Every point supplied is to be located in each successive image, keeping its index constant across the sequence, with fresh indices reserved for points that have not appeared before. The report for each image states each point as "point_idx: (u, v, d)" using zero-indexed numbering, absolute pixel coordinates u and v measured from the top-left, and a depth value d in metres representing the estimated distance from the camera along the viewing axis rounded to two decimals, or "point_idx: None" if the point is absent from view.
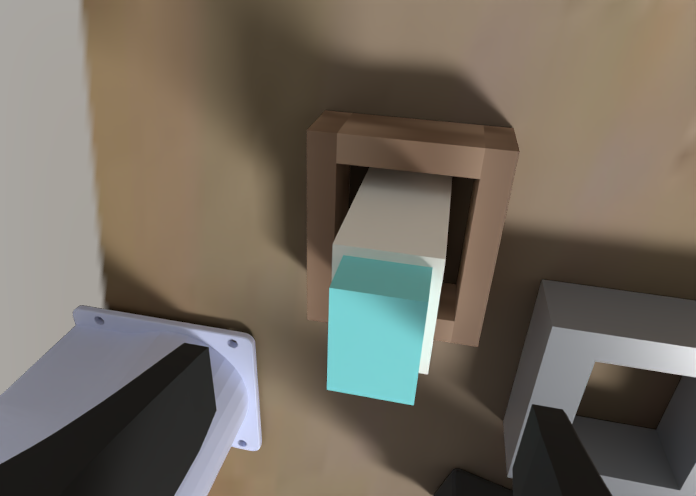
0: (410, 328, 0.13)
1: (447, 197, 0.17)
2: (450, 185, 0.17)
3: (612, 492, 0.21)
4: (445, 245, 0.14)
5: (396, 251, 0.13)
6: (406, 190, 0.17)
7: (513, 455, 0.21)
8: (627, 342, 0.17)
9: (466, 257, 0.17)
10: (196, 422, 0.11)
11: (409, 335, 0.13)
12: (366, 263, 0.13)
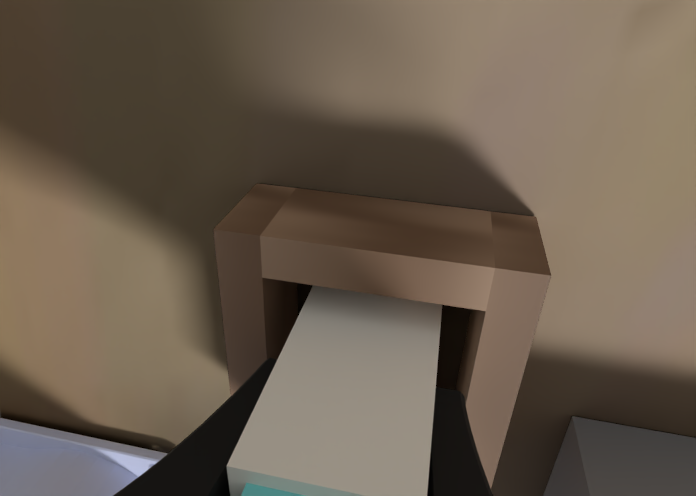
0: None
1: (435, 331, 0.11)
2: None
3: None
4: (427, 464, 0.08)
5: (337, 486, 0.07)
6: (372, 316, 0.11)
7: None
8: None
9: None
10: None
11: None
12: None
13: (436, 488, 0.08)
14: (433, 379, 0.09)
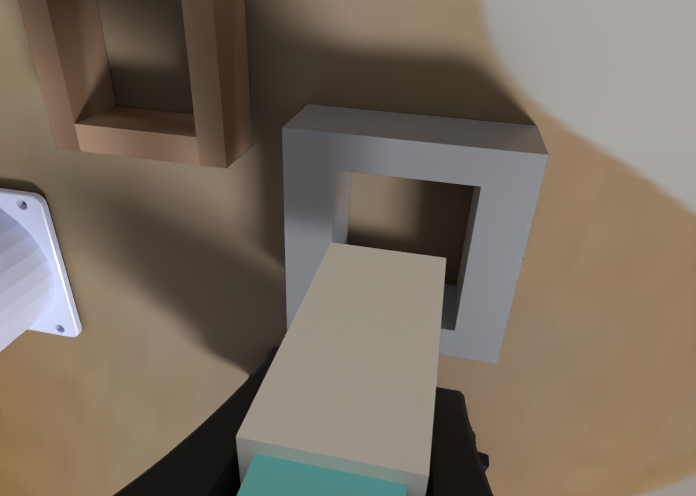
0: None
1: (437, 313, 0.11)
2: (442, 287, 0.12)
3: None
4: (429, 435, 0.08)
5: (344, 455, 0.08)
6: (375, 299, 0.11)
7: (287, 301, 0.19)
8: (359, 141, 0.16)
9: (188, 52, 0.16)
10: None
11: None
12: (291, 476, 0.08)
13: (436, 488, 0.08)
14: (435, 357, 0.10)
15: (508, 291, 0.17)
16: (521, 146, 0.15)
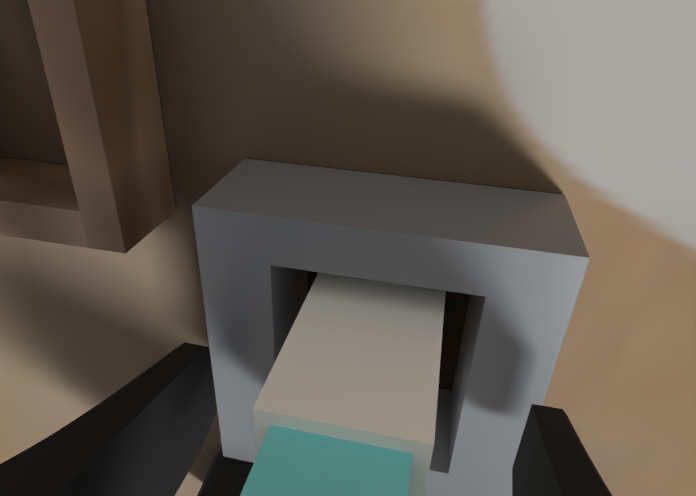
0: None
1: (441, 299, 0.11)
2: None
3: None
4: (434, 409, 0.09)
5: (354, 426, 0.08)
6: (381, 285, 0.12)
7: (220, 423, 0.14)
8: (304, 228, 0.11)
9: (54, 95, 0.11)
10: (196, 422, 0.11)
11: None
12: (305, 444, 0.08)
13: None
14: (439, 339, 0.10)
15: None
16: (546, 239, 0.10)
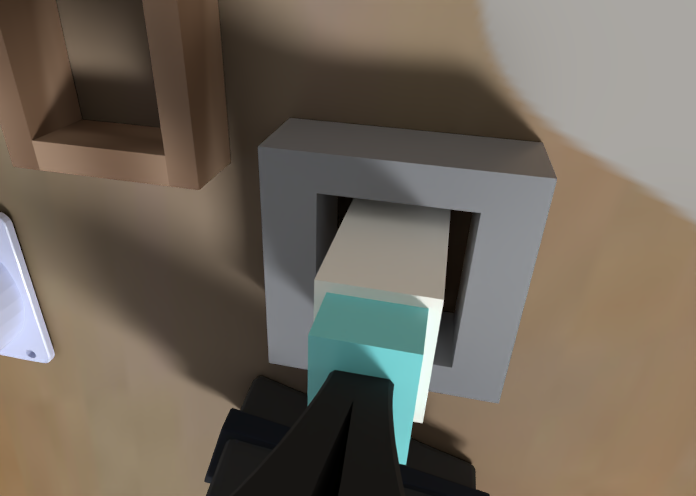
0: (402, 382, 0.11)
1: (446, 220, 0.15)
2: None
3: None
4: (443, 281, 0.12)
5: (387, 290, 0.12)
6: (400, 212, 0.15)
7: (268, 333, 0.18)
8: (344, 162, 0.14)
9: (153, 62, 0.14)
10: None
11: (401, 390, 0.11)
12: (352, 303, 0.12)
13: (345, 469, 0.08)
14: (446, 244, 0.14)
15: (511, 326, 0.15)
16: (526, 168, 0.14)
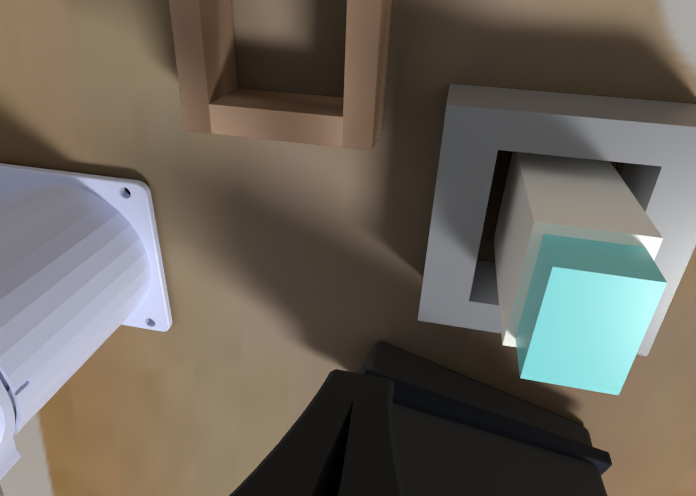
0: (637, 311, 0.12)
1: (617, 176, 0.16)
2: (611, 165, 0.17)
3: None
4: (652, 224, 0.13)
5: (606, 230, 0.13)
6: (570, 169, 0.16)
7: None
8: (531, 119, 0.15)
9: (347, 25, 0.15)
10: None
11: (634, 319, 0.12)
12: (573, 242, 0.13)
13: (345, 469, 0.08)
14: (631, 195, 0.15)
15: (673, 278, 0.16)
16: None
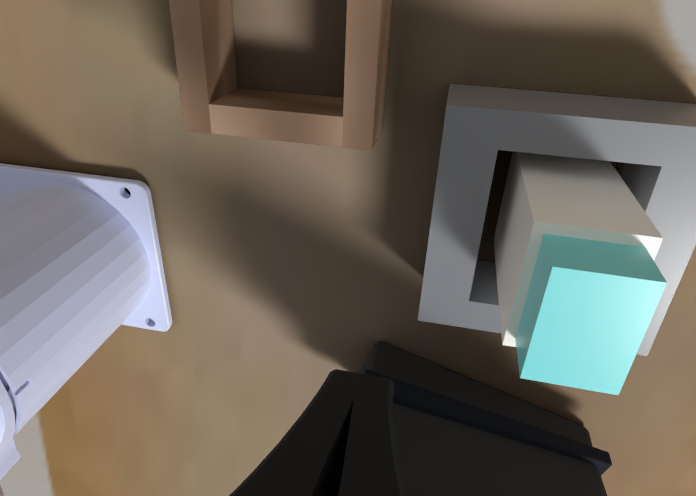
0: (637, 311, 0.12)
1: (617, 176, 0.16)
2: (611, 165, 0.17)
3: None
4: (652, 224, 0.13)
5: (606, 230, 0.13)
6: (570, 169, 0.16)
7: None
8: (531, 119, 0.15)
9: (347, 25, 0.15)
10: None
11: (634, 318, 0.12)
12: (573, 242, 0.13)
13: (345, 469, 0.08)
14: (631, 195, 0.15)
15: (673, 278, 0.16)
16: None
